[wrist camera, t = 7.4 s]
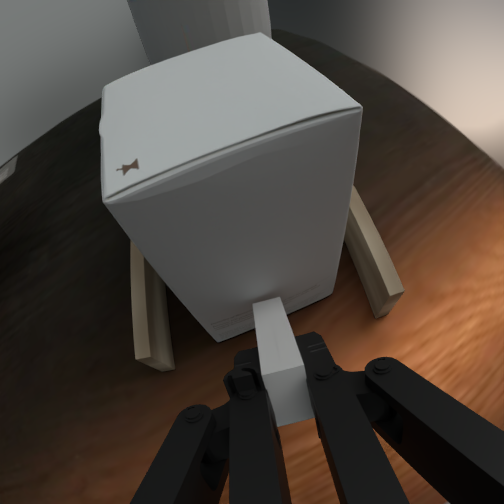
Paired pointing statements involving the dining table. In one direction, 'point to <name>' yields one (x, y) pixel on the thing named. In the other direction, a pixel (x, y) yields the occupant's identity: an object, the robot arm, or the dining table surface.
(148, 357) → the pusher lane
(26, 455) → the dining table surface
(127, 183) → the supplement box
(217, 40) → the citrus juicer
